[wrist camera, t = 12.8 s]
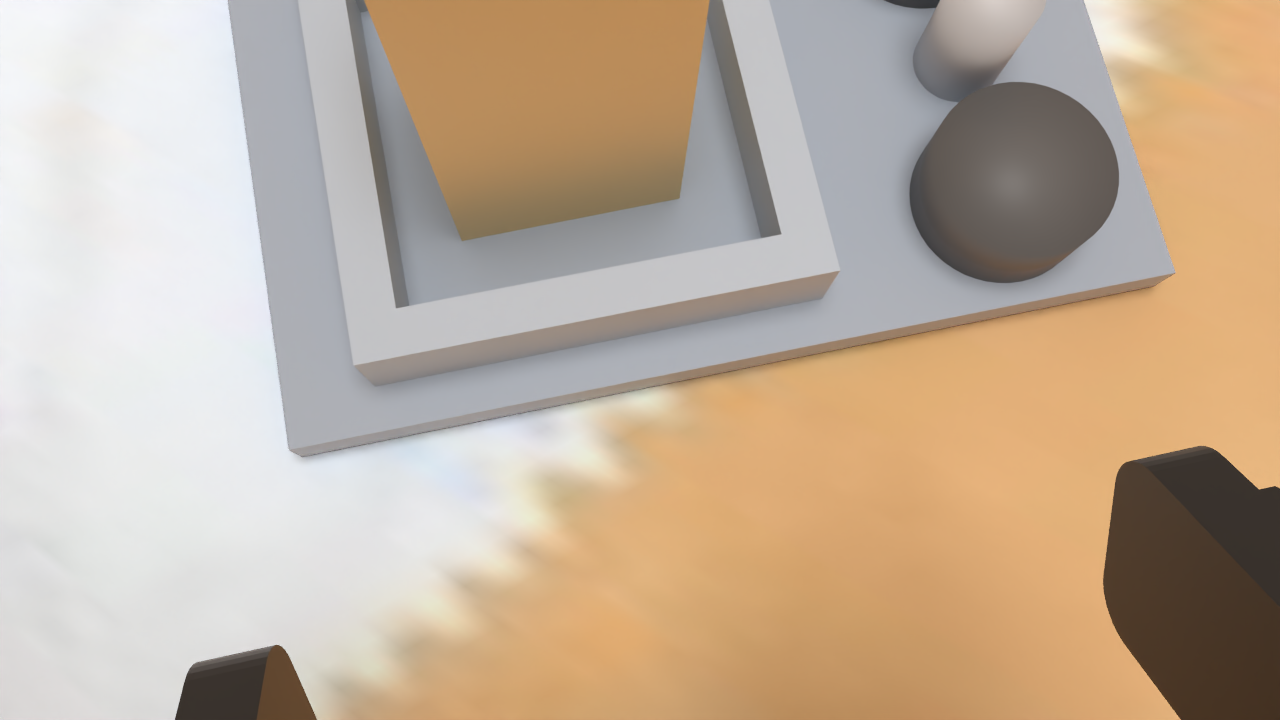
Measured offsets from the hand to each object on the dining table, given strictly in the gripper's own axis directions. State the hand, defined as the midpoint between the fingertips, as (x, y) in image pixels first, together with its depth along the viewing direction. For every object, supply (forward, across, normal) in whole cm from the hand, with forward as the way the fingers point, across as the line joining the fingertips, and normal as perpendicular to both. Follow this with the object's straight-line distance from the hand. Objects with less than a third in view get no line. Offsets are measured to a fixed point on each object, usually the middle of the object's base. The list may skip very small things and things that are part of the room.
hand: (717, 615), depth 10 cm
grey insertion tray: (+17, -3, +2) cm, 18 cm away
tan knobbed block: (+16, 0, +1) cm, 17 cm away
